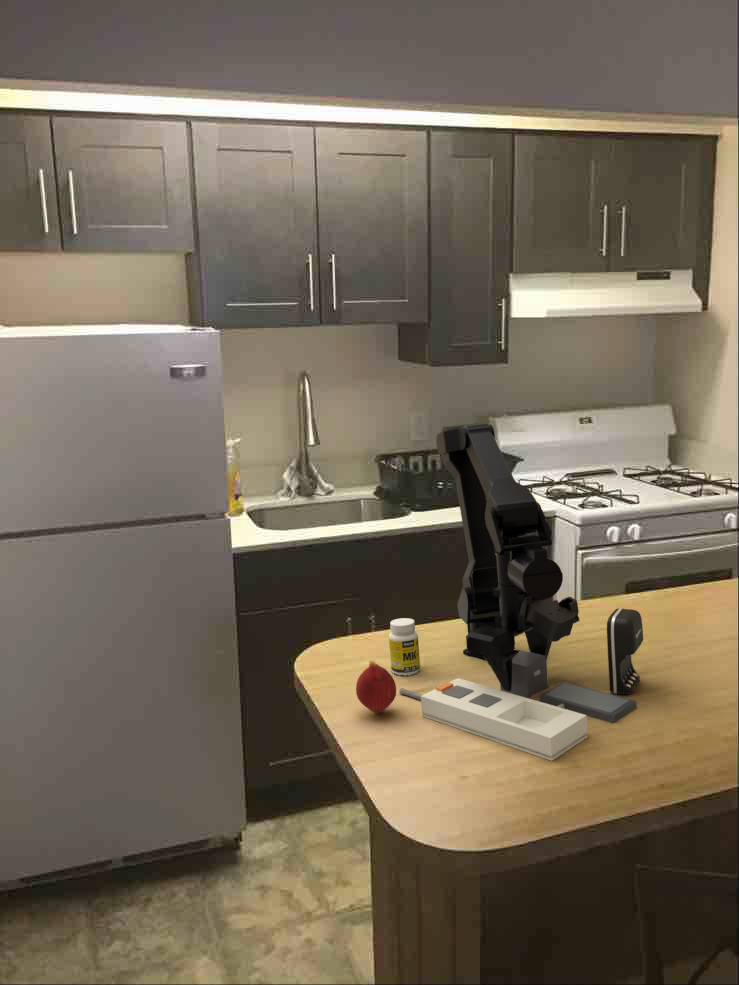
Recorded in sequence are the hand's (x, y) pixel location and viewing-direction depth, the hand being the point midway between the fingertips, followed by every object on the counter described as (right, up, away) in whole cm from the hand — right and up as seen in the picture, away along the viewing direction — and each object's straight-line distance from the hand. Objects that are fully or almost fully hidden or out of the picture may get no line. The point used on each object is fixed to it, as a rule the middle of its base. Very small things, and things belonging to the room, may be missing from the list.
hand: (524, 681), depth 126 cm
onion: (-22, -4, -4) cm, 23 cm away
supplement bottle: (-17, -1, +11) cm, 21 cm away
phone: (+5, -2, -9) cm, 11 cm away
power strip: (-8, -3, -8) cm, 12 cm away
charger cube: (0, -1, 0) cm, 1 cm away
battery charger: (+15, 0, -3) cm, 15 cm away
